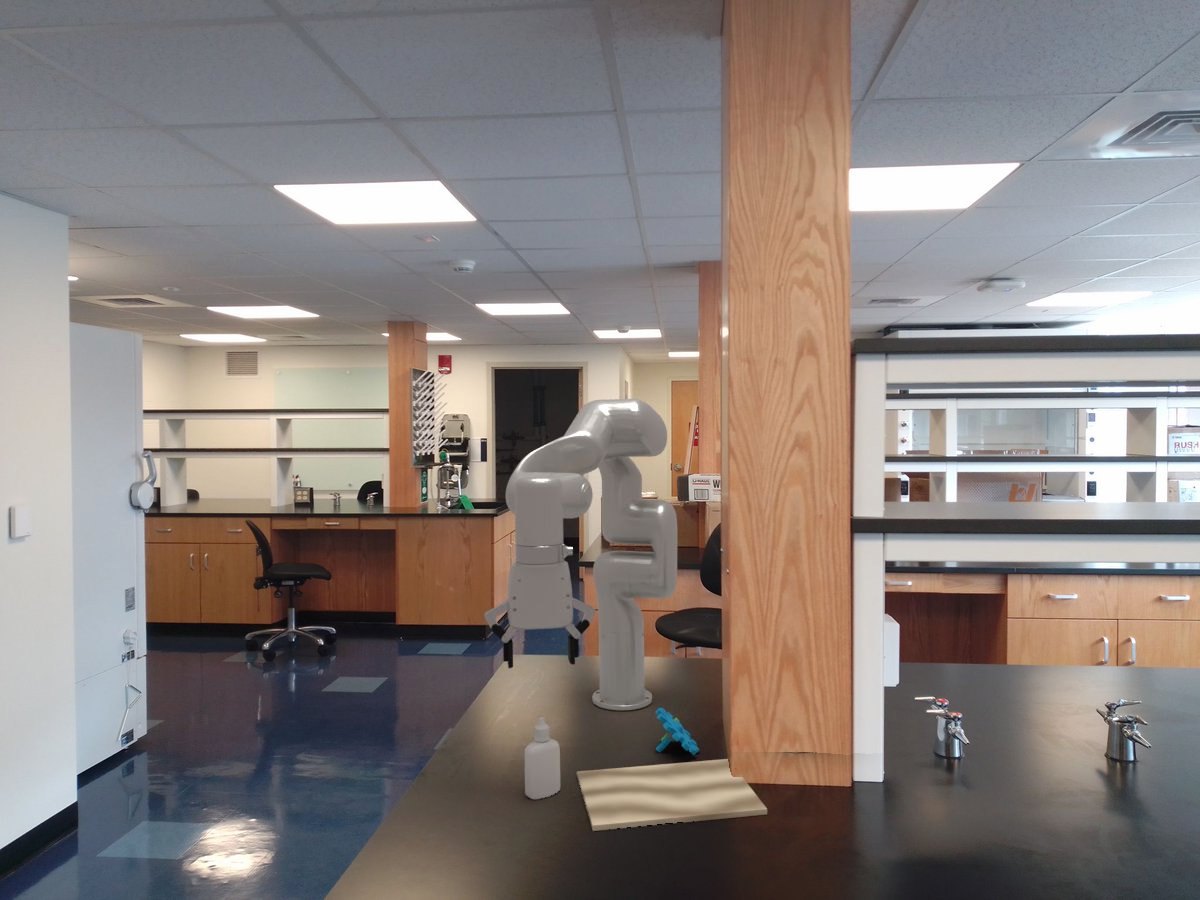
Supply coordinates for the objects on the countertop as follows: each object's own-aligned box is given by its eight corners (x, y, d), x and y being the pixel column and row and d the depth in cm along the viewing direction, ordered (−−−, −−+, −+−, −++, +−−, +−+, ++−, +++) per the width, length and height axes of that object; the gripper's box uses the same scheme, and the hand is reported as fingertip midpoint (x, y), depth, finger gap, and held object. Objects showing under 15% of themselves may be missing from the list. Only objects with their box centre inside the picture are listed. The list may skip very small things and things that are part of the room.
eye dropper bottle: (524, 788, 125) (523, 713, 125) (559, 785, 126) (558, 711, 125) (525, 801, 121) (524, 724, 120) (561, 798, 121) (560, 721, 121)
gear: (701, 755, 132) (659, 711, 134) (677, 780, 133) (635, 736, 134) (701, 739, 143) (662, 698, 145) (679, 762, 143) (640, 721, 145)
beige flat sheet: (576, 776, 129) (576, 771, 129) (728, 763, 133) (728, 758, 133) (592, 831, 111) (592, 825, 111) (767, 814, 115) (767, 809, 115)
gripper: (590, 549, 127) (592, 654, 128) (483, 553, 125) (485, 660, 125) (597, 556, 120) (599, 667, 120) (483, 560, 117) (485, 674, 118)
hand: (541, 663), depth 123 cm, fingers open, 9 cm apart
